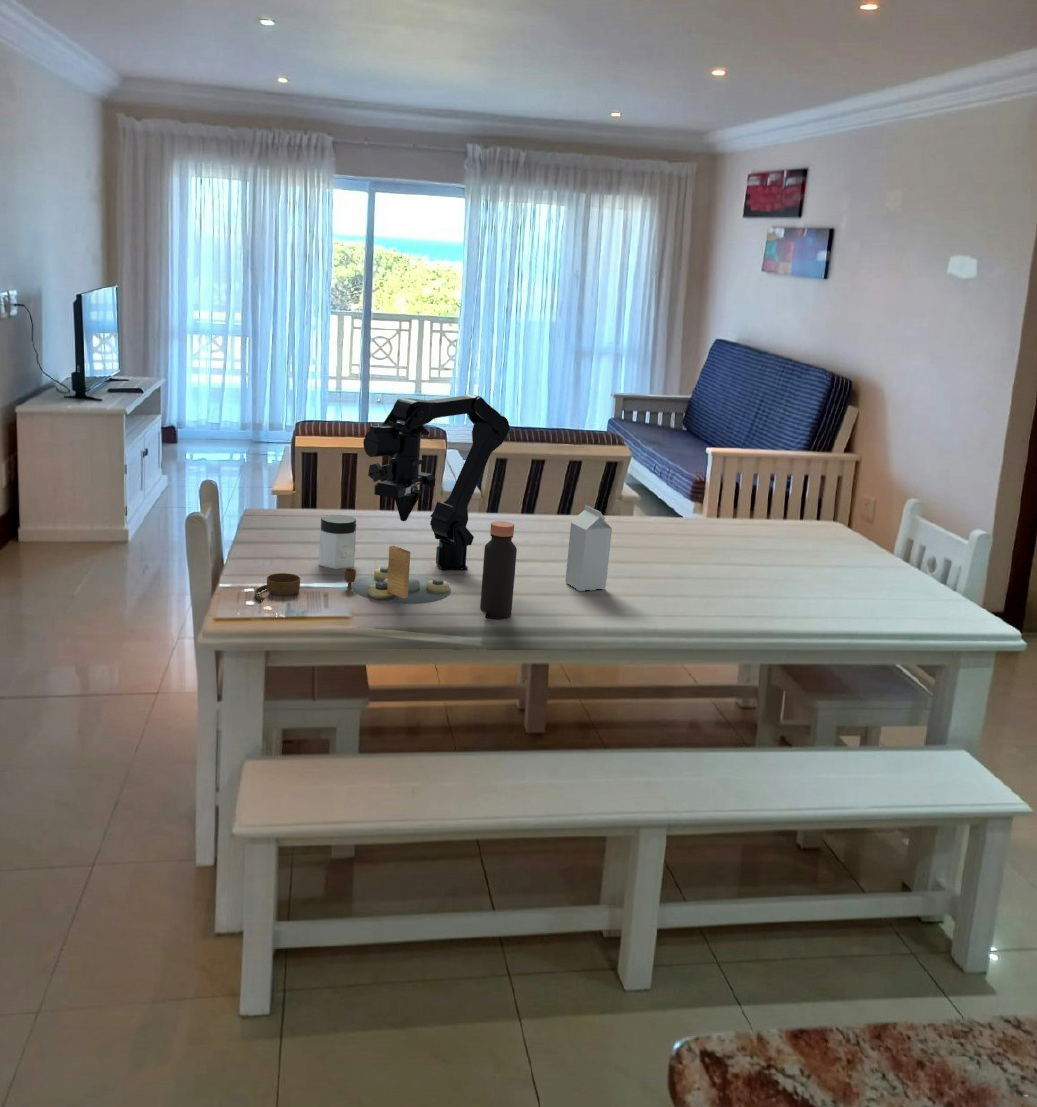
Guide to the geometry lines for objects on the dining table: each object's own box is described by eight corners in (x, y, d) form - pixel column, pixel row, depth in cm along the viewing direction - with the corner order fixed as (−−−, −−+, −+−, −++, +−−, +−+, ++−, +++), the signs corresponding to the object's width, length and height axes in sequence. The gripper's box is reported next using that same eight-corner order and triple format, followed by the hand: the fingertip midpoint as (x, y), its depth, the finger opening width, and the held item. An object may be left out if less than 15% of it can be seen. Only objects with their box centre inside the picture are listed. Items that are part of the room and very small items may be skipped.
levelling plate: (436, 577, 255) (437, 563, 254) (462, 607, 235) (463, 592, 234) (343, 579, 248) (343, 565, 247) (361, 610, 228) (361, 594, 227)
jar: (326, 574, 250) (328, 524, 247) (312, 565, 256) (313, 515, 253) (361, 571, 255) (363, 521, 252) (347, 562, 261) (349, 513, 258)
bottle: (489, 621, 228) (497, 528, 222) (473, 611, 233) (480, 520, 228) (517, 617, 231) (524, 526, 226) (500, 608, 237) (508, 519, 231)
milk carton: (579, 592, 253) (587, 512, 248) (564, 583, 259) (572, 505, 254) (605, 590, 256) (614, 511, 251) (590, 581, 262) (598, 504, 257)
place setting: (269, 584, 241) (269, 559, 240) (357, 594, 240) (358, 568, 238) (242, 608, 225) (242, 581, 223) (337, 618, 223) (338, 591, 221)
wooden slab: (361, 593, 234) (364, 541, 231) (383, 589, 238) (386, 538, 235) (393, 607, 226) (396, 554, 223) (416, 603, 231) (419, 550, 227)
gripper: (396, 444, 259) (393, 508, 263) (355, 454, 242) (352, 522, 246) (438, 451, 255) (434, 515, 259) (398, 461, 238) (395, 530, 242)
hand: (403, 520), depth 251 cm, fingers closed
